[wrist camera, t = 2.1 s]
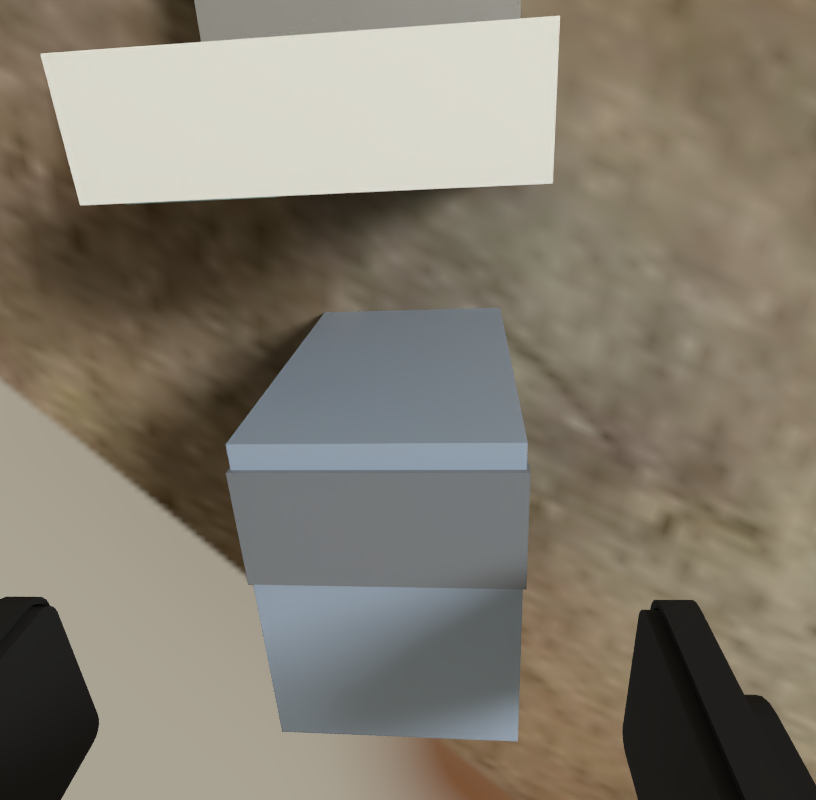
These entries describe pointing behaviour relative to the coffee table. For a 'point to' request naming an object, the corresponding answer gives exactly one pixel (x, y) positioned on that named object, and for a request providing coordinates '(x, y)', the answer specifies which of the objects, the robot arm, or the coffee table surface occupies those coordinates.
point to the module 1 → (311, 113)
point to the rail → (338, 15)
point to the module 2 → (389, 526)
